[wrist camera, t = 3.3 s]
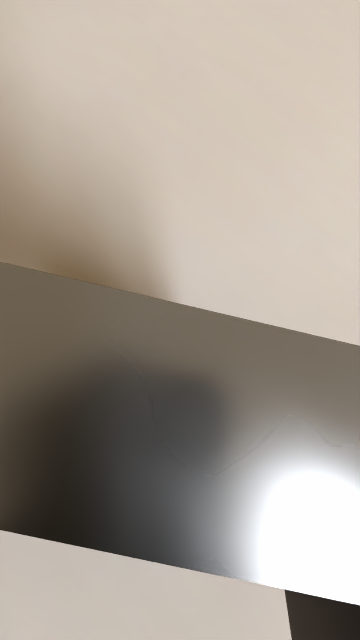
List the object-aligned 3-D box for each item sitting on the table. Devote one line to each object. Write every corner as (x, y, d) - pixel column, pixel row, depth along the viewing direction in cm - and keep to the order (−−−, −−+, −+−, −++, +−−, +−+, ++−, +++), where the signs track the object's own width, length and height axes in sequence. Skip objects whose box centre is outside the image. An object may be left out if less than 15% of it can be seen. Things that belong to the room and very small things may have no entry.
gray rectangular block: (200, 418, 16) (373, 607, 3) (104, 397, 15) (-154, 498, 3) (210, 370, 16) (384, 352, 4) (117, 348, 16) (-42, 251, 3)
